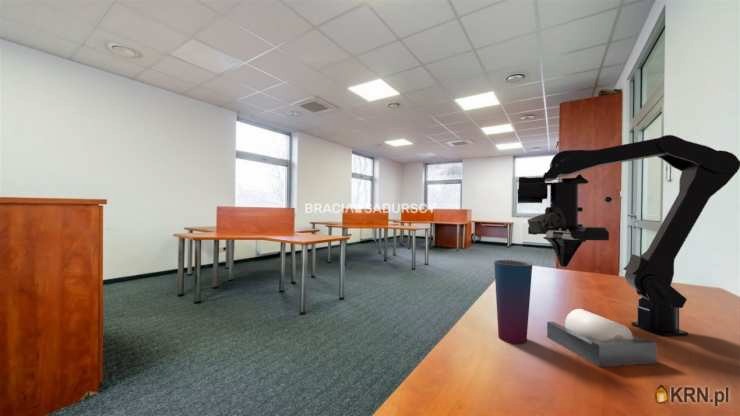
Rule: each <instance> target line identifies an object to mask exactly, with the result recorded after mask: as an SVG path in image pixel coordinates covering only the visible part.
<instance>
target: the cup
mask: <svg viewBox="0 0 740 416" xmlns="http://www.w3.org/2000/svg"><path fill="white" fill-rule="evenodd" d="M493 265H494V280H495V282H494V285H495V297H496V299H495V300H496V315H497V316H496V317H497V331H498V333H497V335H498V338H499V339H500V340H501V341H504V342H506V343H509V344H513V345H523V344H526V343H527V342H528V341H527V340H528V331H529V330H528V327H529V315H530V314H529V313H530V301H531V289H532V288H531V287H532V276H533V275H532V274H533V263H532V262H528V261H523V260H513V259H497V260H494V261H493Z"/></svg>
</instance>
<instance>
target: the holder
mask: <svg viewBox="0 0 740 416" xmlns="http://www.w3.org/2000/svg"><path fill="white" fill-rule="evenodd" d="M546 330H547V331H546V334H547V335H546V337H547V338H549V340H551V341H554V342H555V343H557V344H558V345H561V346H563V347H564V348H566V349H567V350H569V351H571V352H572V353H574V354H575V355H578V356H579V357H581V358H583V359H584V360H586V361H588V362H590V363H591V364H594V365H596V367H599V368H605V367H620V366H619V365H624V366H638V365H637V364H641V365H654V364H655V365H656V364H658V363H657V362H658V361H657V359H658V358H657V356H658V355H657V353H658V351H657V347H658V346H657V343H658V342H656V341H654V340H652V339H649V338H640V337H637V336H634V335H632V336H633V339H632V340H626V339H625V338H610V341H592V340H590V339H588V338H586V337H584V336H582V335H580V334H578V333H576V332H574V331H571V330H569V329H567V328H565V326H563V325H561V324H560V323H557V322H555V321H547V322H546ZM635 364H636V365H635Z"/></svg>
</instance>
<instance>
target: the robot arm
mask: <svg viewBox="0 0 740 416" xmlns="http://www.w3.org/2000/svg"><path fill="white" fill-rule="evenodd" d="M655 157H658V158H659V159H662V161H664V162H665V163H667V164H668V165H670V166H671V167H672V168H674V169H676V170H678V171H680V172H681V173H680V176H679V184H678V185H679V189H678V194H677V196H676V198H675V200H674V201H673V203H672V205H671V207H670V208H669V210H668V212H667V214H666V215H665V218H664V219H663V221H662V223H661V225H660V227H659V229H658V230H657V232H656V234H655V236H654V238H653V239H652V241H651V243H650V245H649V247H647V248H648V249H646V251H645V252H643V253H642V254H641V255H640V256H639V255H637V254H634V253H632V254H631V255H630V257H629V261H628V264H627V265H625V266H624V267H623V270H624V271H625V274H624V278H625V281H626V282H627V284H628V285H629V286H630V287H632V289H633V288H634V290H635V291H636V294H637V295H638V296H640V298H638V306H637V321H630V324H631V325H632V326H635V327H638V328H640V329H643V330H646V331H649V332H652V333H654V334H657V335H660V336H665V337H668V336H669V337H670V336H688V335H689V332H688V331H686V330H682V329H680V309H682V308H684V305H685V304H686V302H687V300H688V299H687V298H686V297H685V296H684V295H683V294H681V292H679V291H678V290H677V289H675V288H674V287H673V286H672V282H673V279H674V276H675V260H676V257H677V256H678V254H679V252H680V250H681V249H682V247H683V245H684V244H685V242H686V240H687V238H688V237H689V235H690V233H691V232H692V229H693V228H694V226H695V224H696V223H697V221H698V219H699V217H700V215H701V214H702V212H703V210H704V209H705V207H706V205H707V204H708V202H709V200H710V199H711V197H712V196H714V195H715V194H716V193H717V192H718V191H720V190H721V189H722V188H723V187H725V186H726V185H727V184H728V183H729V182H730V181H731V180H732V179H733V177H734V176H735V175H736V174H737V173H738V172H739V170H740V159H739V158H738V156H736V155H735V154H734V153H732V152H730V151H726V150H716V149H714V148H712V147H710V146H708V145H704V144H700V143H697V142H693V141H690V140H685V139H684V138H681V137H679V136H676V135H673V134H667V135H665V134H664V135H663V136H660V137H656V138H651V139H645V140H640V141H636V142H630V143H626V144H620V145H614V146H609V147H604V148H599V149H569V150H568V149H567V150H561V151H559V152H557V153H556V154H555V155H554V156H553V158H552V159H551V161H550V163H549V169H548V170H547V171H546V172H544V173H543V176H538V177H537V176H536V177H535V176H533V177H526V176H520V177H518V188H517V204H543V200H548V192H549V191H550V192H549V194H550V196H549V198H550V200H549V202H550V203H549V205H550V206H547V207H545V209H544V213H543V214H538V215H536V216H534V217H531V218H529V219H527V224H528V229H527V233H528V235H535V236H536V235H545V236H543V239H544V240H546V241H547V242H548V243H550V244H551V245H552V248H553V249H554V252H555V255H556V258H557V260H558V263H559V266H560V267H564V268H567V267H568V265H569V264H570V262H571V261H572V258H573V257H574V256H575V254H576V252H577V250H578V249H580V246H581V245H582V244H583V243H585V242H587V241H610V231H609V230H608V229H607V228H606V227H602V226H583V225H584V224H583V223H581V224H580V223H579V212H583V209H584V208H583V207H580V206H579V186H585V185H586V184H589V182H590V181H589V180H588V179H586V178H585V177H583V175H582V174H579V173H582V172H585V171H587V170H590V169H592V168H596V167H603V166H609V165H614V164H620V163H621V164H622V163H625V162H632V161H638V160H642V159H649V158H655ZM577 174H578V175H577ZM572 175H577V176H576V177H569V176H572ZM558 178H561V179H560V181H557V182H556V181H555V182H553V181H554V180H556V179H558ZM548 187H550V190H549V189H548Z"/></svg>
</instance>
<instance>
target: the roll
mask: <svg viewBox="0 0 740 416" xmlns="http://www.w3.org/2000/svg"><path fill="white" fill-rule="evenodd" d="M564 327H565V328H567V329H569V330H571V331H574V332H576V333H578V334H580V335H582V336H584V337H586V338H588V339H590V340H592V341H610V338H625V339H626V340H632V339H633V336H634V335H633V333H632V331H631V330H630V329H629V328H628V327H627V326H626V325H624V324H622V323H618V322H616V321H613V320H611V319H608V318H605V317H603V316H601V315H598V314H596V313H593V312H590V311H587V310H585V309H582V308H576V309H573V310H571V311H570V312H569V313H568V314H567V316H566V318H565V321H564Z"/></svg>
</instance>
